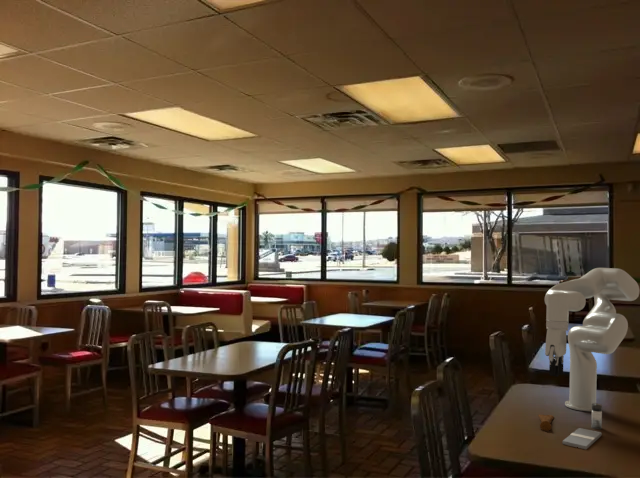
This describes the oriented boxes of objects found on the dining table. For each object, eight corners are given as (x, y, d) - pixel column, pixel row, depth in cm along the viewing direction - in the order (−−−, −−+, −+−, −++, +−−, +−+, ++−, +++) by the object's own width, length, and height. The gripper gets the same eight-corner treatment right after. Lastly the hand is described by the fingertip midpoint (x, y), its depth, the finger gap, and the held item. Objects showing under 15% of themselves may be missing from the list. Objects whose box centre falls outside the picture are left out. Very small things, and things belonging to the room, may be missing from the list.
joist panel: (579, 430, 194) (579, 427, 194) (601, 435, 190) (601, 432, 190) (562, 444, 180) (562, 440, 180) (586, 449, 176) (586, 445, 176)
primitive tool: (538, 415, 212) (538, 406, 212) (553, 417, 210) (554, 408, 210) (539, 431, 194) (540, 420, 194) (557, 433, 192) (557, 423, 192)
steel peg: (592, 425, 200) (593, 402, 200) (602, 427, 198) (603, 404, 198) (590, 427, 198) (590, 404, 198) (600, 429, 196) (600, 406, 196)
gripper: (554, 322, 220) (553, 369, 220) (539, 326, 207) (538, 377, 207) (574, 324, 215) (573, 373, 215) (560, 328, 202) (559, 380, 202)
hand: (556, 374), depth 211 cm, fingers open, 4 cm apart
